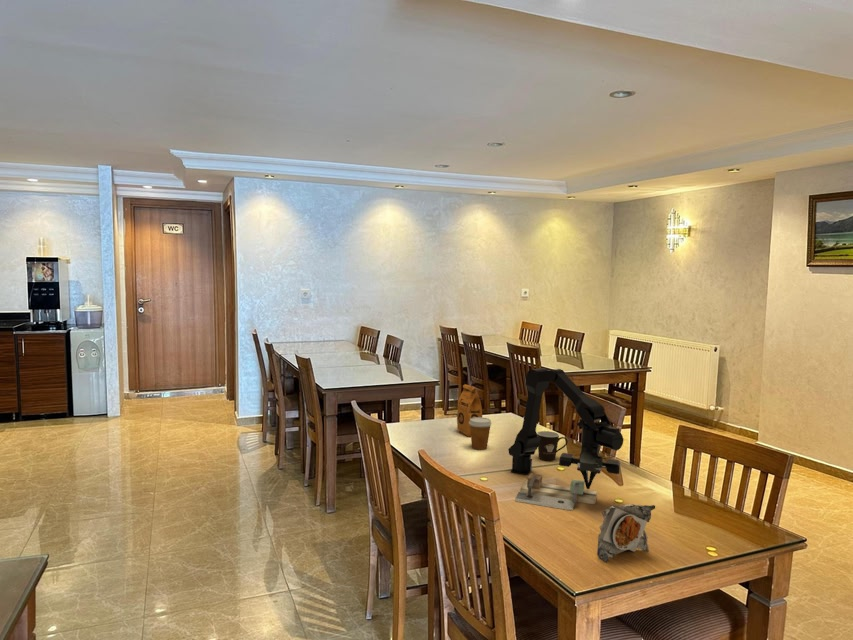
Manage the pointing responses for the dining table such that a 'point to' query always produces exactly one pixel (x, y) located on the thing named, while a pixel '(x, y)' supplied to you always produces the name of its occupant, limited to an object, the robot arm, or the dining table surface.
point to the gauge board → (555, 490)
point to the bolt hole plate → (545, 501)
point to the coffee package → (468, 409)
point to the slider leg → (576, 488)
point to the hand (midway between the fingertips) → (588, 488)
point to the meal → (623, 530)
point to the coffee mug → (549, 445)
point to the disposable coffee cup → (479, 432)
